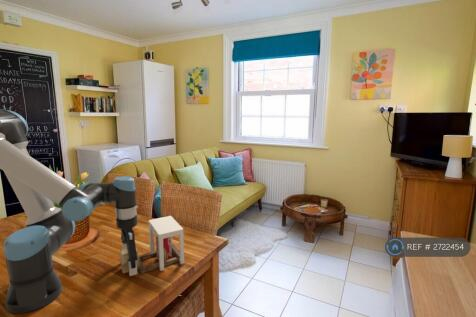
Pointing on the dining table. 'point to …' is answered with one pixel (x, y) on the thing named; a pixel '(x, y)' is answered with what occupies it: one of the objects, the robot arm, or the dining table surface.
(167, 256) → the beverage can
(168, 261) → the pull frame
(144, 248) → the dining table surface
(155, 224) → the white stool
